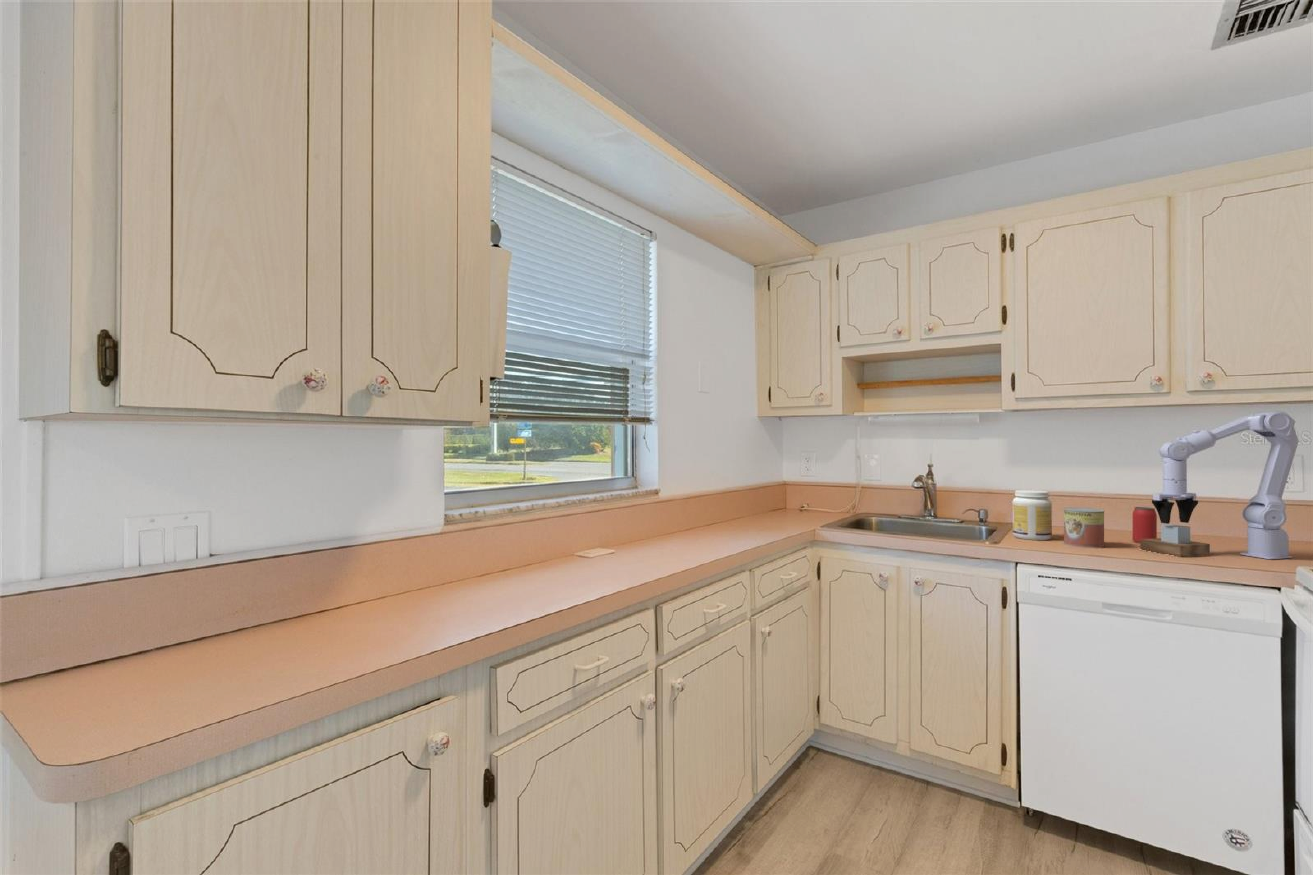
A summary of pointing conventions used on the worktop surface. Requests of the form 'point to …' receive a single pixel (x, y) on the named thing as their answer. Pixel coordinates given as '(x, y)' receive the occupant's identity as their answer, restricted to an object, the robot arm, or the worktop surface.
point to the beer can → (1144, 523)
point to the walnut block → (1175, 547)
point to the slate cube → (1175, 533)
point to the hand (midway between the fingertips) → (1174, 522)
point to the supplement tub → (1032, 515)
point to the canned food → (1084, 527)
